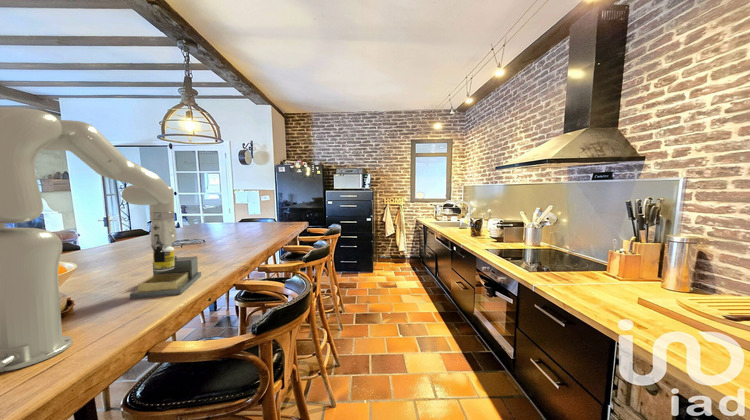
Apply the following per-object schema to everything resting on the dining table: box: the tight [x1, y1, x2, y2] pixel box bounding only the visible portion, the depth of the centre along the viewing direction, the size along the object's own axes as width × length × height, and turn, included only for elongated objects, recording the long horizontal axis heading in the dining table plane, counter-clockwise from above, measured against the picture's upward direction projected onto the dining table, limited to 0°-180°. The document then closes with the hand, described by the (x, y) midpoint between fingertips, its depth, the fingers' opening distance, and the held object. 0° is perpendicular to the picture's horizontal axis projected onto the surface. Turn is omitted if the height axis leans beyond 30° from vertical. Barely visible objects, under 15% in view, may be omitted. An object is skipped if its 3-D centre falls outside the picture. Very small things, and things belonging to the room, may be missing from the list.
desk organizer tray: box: [129, 255, 202, 300], centre depth 103 cm, size 22×16×11 cm
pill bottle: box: [152, 243, 175, 271], centre depth 99 cm, size 6×6×12 cm
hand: (164, 259), depth 99 cm, fingers closed on pill bottle, 6 cm apart
